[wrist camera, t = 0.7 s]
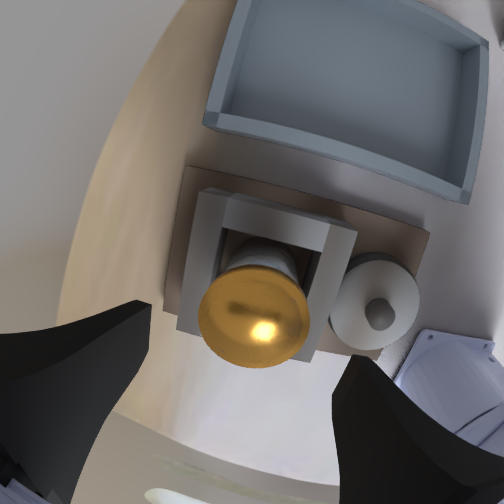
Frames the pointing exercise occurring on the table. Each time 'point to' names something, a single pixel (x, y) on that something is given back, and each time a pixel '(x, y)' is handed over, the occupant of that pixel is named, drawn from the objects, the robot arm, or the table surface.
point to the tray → (358, 87)
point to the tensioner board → (299, 259)
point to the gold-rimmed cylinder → (256, 307)
